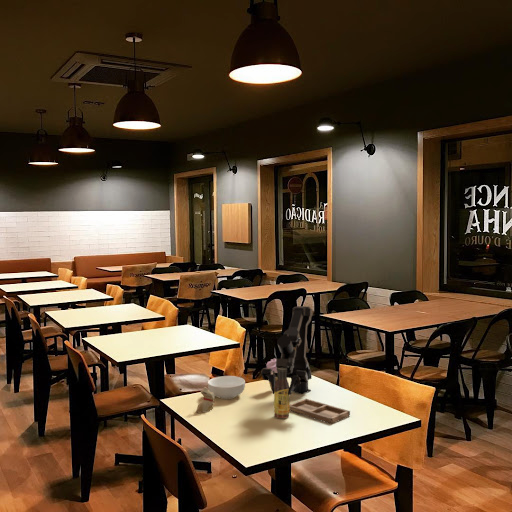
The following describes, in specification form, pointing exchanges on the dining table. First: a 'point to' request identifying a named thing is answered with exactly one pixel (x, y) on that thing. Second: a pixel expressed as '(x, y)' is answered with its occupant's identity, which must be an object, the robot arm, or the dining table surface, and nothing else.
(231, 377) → the cereal bowl
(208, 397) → the chocolate bunny
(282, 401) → the sauce bottle
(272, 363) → the ice cream cone
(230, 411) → the dining table surface
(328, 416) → the walnut holder
